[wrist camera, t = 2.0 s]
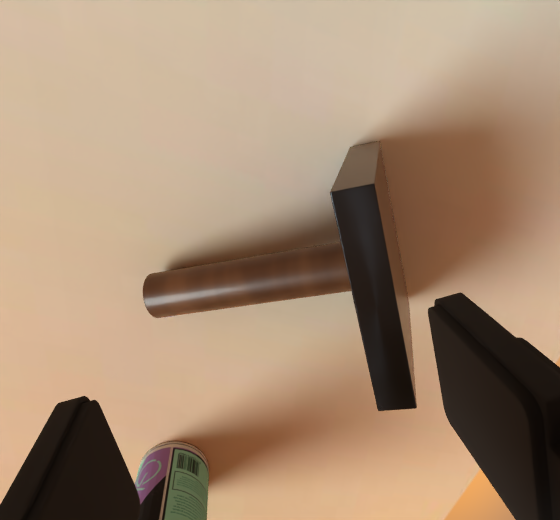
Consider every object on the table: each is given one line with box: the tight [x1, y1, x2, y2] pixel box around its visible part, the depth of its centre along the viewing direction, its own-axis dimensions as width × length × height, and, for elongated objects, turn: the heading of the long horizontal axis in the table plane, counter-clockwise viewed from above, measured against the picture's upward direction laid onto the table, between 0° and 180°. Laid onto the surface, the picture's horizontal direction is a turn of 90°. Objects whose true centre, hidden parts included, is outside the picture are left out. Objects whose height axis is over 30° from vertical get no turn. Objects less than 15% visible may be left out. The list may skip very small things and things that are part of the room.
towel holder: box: [143, 141, 417, 411], centre depth 29 cm, size 18×12×12 cm
